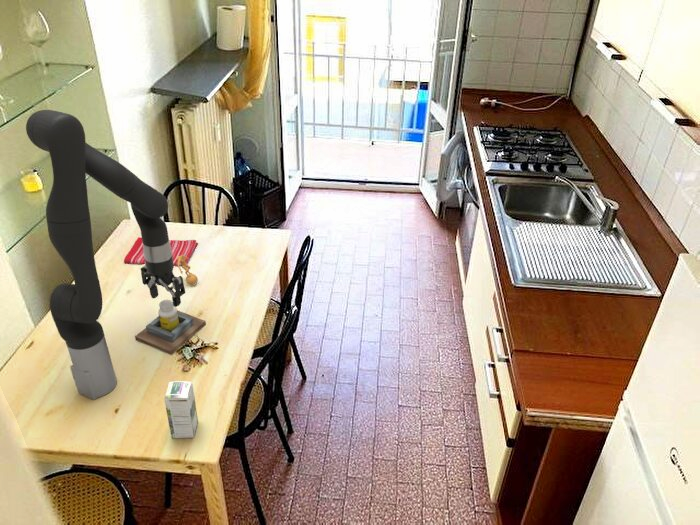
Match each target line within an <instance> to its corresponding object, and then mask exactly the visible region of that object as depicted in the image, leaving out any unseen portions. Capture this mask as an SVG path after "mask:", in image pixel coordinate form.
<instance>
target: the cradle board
mask: <svg viewBox="0 0 700 525" xmlns="http://www.w3.org/2000/svg"><path fill="white" fill-rule="evenodd" d="M177 315H178V320H179V326H178V327H176V328H175V329H174V330H173V331H172V332H169V331H167V330H164V329H162V328H161V324H160V319H159V315H158V316H156V318H154V319H153V320H152V321H150V322H149V323H148V324H147V325H146V326H145V328H144V329H142V330H141V331H139V333H137V334H135V336H134V338H135V341H137V342H140V343H142V344H144V345H147V346H148V347H151V348H154V349H156V350H159V351H162V352H164V353H166V354H169V355H173V354H174V353H175V352H177V351H178V350H179V349H180V348H182V346H183V345H184V344H186V343H187V342H188V341H189V340H190V339H192V338H193V337H194V336H195V335H196V334H197V333H198V332H199V331H201V330H202V328H204V327H205V326H206V324H207V323H206V320H204V319H201V318H198V317H196V316H193V315H190V314H188V313H186V312H183V311H180V310H177ZM186 341H187V342H186ZM185 342H186V343H185ZM179 347H180V348H179ZM178 348H179V349H178ZM177 349H178V350H177Z"/></svg>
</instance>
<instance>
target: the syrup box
mask: <svg viewBox="0 0 700 525" xmlns="http://www.w3.org/2000/svg"><path fill="white" fill-rule="evenodd" d="M195 398H196V397H195V392H194V385H193V381H183V380H182V381H178V380H177V381H169V382H168V386H167V389H166V392H165V397H164V398H163V399H164V405H165V411H166V415H167V420H168V427H169V432H170V437H171V439H187V438H188V439H189V438H191V439H192V438H195V436H196V430H197V426H198V422H199V420H198V411H197V405H196V404H197V403H196V399H195Z"/></svg>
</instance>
